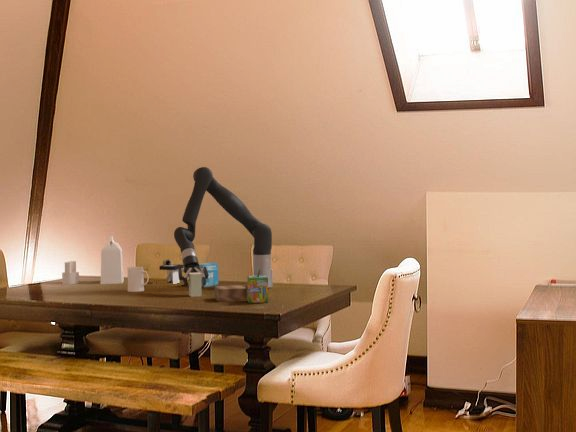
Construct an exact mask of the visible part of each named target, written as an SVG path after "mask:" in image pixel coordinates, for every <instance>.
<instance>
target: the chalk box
mask: <svg viewBox="0 0 576 432" xmlns="http://www.w3.org/2000/svg"><path fill="white" fill-rule="evenodd" d="M259 273H260V269H259V271H258V275H257V276H253V275H247V278H246V279H247V281H246V282H247V287H246V288H247V302H248V304H267V303H266V302H268V303H269V288H268V277H267V276H259Z"/></svg>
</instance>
